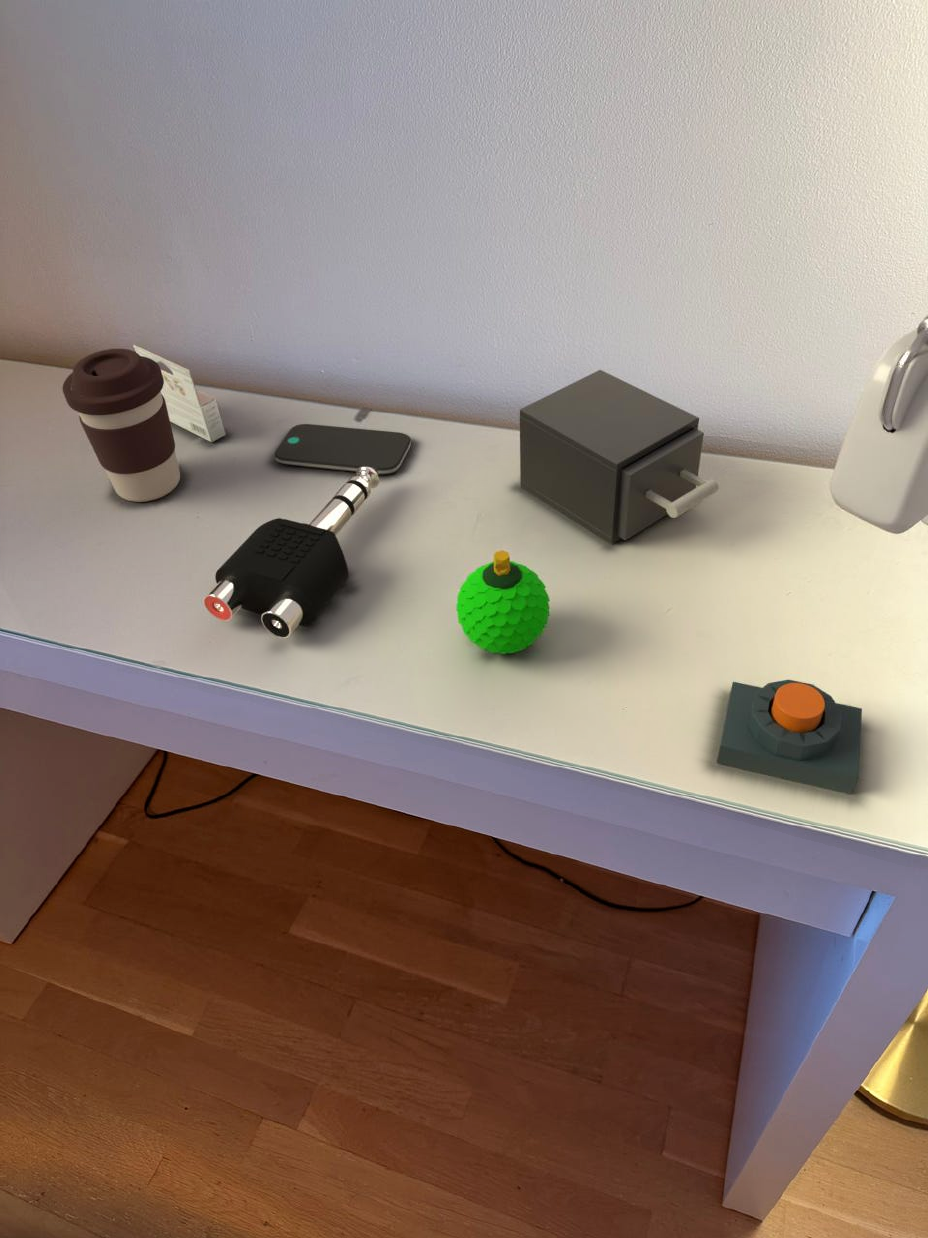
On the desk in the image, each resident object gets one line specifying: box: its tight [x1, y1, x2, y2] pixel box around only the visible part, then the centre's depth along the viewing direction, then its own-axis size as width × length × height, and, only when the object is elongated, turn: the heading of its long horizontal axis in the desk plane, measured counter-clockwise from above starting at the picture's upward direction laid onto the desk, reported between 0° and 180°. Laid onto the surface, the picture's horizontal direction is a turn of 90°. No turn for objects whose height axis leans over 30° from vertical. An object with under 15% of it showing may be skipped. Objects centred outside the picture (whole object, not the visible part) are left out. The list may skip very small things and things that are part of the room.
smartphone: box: [274, 423, 412, 475], centre depth 107 cm, size 8×1×15 cm
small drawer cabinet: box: [519, 369, 700, 545], centre depth 96 cm, size 14×12×10 cm
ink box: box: [132, 344, 226, 443], centre depth 110 cm, size 2×11×10 cm, turn 50°
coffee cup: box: [61, 348, 181, 503], centre depth 100 cm, size 10×10×15 cm
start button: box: [771, 683, 825, 733], centre depth 71 cm, size 4×4×2 cm
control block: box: [716, 679, 863, 795], centre depth 72 cm, size 10×7×4 cm
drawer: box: [616, 428, 720, 541], centre depth 94 cm, size 17×10×8 cm, turn 40°
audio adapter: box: [203, 466, 380, 639], centre depth 92 cm, size 11×5×25 cm
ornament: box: [455, 549, 551, 655], centre depth 80 cm, size 8×8×10 cm
